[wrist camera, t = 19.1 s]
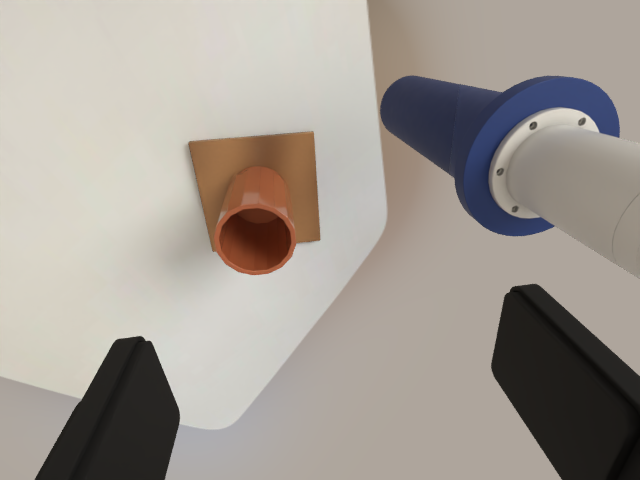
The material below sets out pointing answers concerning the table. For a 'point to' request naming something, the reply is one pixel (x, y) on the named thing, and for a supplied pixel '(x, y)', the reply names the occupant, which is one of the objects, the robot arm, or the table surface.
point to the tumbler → (256, 222)
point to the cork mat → (266, 151)
